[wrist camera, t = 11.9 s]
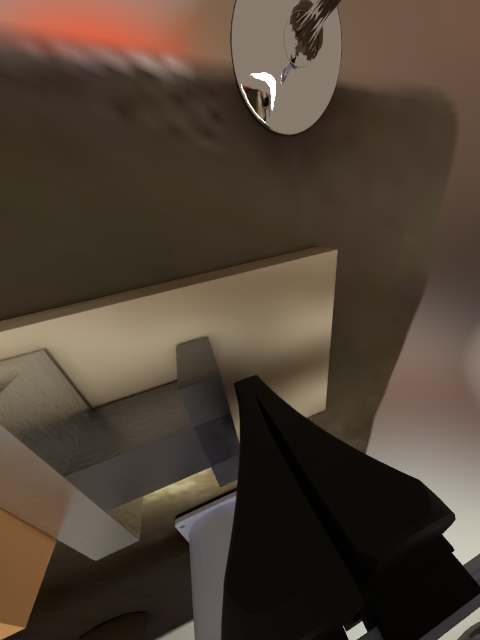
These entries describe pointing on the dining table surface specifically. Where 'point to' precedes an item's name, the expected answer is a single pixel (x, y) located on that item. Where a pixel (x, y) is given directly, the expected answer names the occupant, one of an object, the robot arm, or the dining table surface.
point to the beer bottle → (119, 628)
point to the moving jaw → (107, 447)
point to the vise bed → (196, 332)
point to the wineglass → (286, 60)
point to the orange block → (20, 570)
